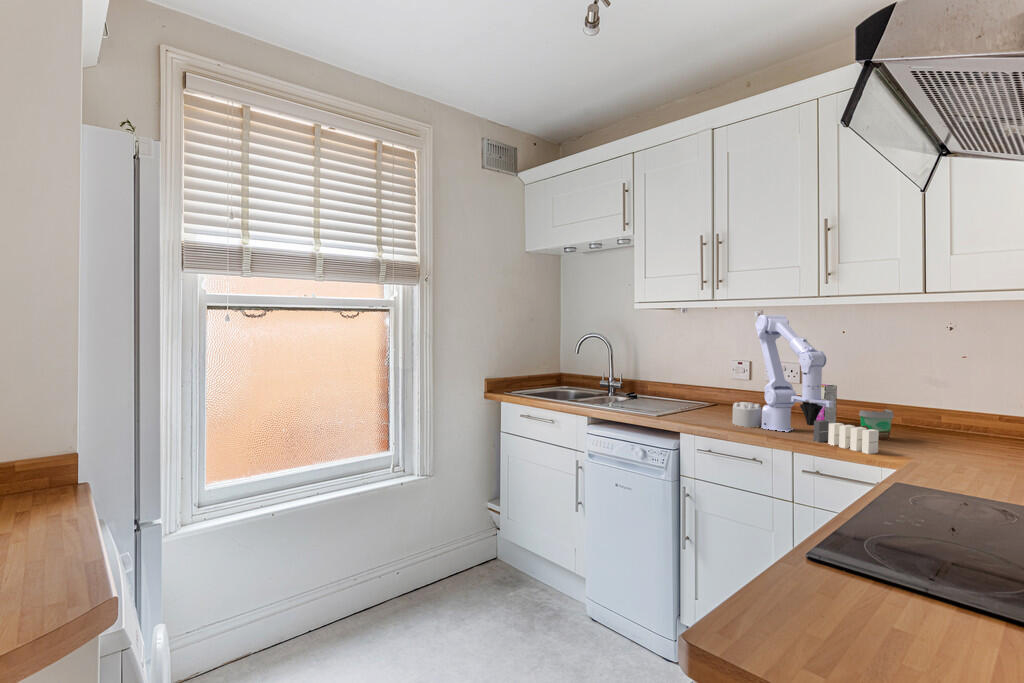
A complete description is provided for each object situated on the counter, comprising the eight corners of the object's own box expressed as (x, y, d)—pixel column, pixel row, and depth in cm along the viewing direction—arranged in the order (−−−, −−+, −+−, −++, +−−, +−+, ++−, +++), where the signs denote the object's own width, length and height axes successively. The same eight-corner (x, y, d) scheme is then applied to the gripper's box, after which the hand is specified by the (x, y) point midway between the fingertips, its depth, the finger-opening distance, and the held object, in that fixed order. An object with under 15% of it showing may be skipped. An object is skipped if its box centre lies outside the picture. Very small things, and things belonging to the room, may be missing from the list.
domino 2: (838, 447, 165) (839, 425, 165) (848, 446, 167) (848, 424, 166) (844, 448, 163) (845, 426, 163) (854, 447, 165) (855, 426, 164)
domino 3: (850, 449, 162) (850, 427, 161) (859, 448, 163) (860, 426, 163) (856, 451, 160) (857, 428, 159) (865, 450, 161) (866, 428, 161)
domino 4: (861, 452, 158) (862, 430, 158) (871, 451, 160) (872, 429, 159) (868, 453, 156) (869, 431, 156) (877, 452, 158) (878, 430, 158)
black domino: (813, 441, 173) (813, 420, 173) (822, 440, 175) (823, 420, 175) (818, 442, 172) (819, 421, 171) (828, 441, 173) (828, 421, 173)
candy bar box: (807, 421, 212) (809, 381, 211) (820, 421, 212) (821, 381, 211) (823, 426, 201) (825, 384, 200) (836, 426, 201) (837, 384, 200)
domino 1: (828, 444, 168) (828, 423, 168) (837, 443, 170) (838, 422, 170) (833, 445, 167) (834, 424, 166) (843, 444, 168) (843, 423, 168)
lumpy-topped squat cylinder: (760, 423, 206) (760, 401, 206) (762, 428, 194) (762, 406, 194) (732, 421, 210) (732, 400, 210) (732, 426, 198) (732, 404, 198)
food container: (874, 442, 173) (875, 412, 172) (858, 438, 179) (859, 410, 178) (902, 440, 176) (903, 411, 176) (885, 436, 182) (886, 408, 182)
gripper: (785, 384, 182) (784, 421, 182) (823, 388, 168) (821, 429, 169) (799, 383, 184) (798, 420, 185) (838, 388, 171) (836, 428, 171)
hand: (810, 425), depth 177 cm, fingers closed
